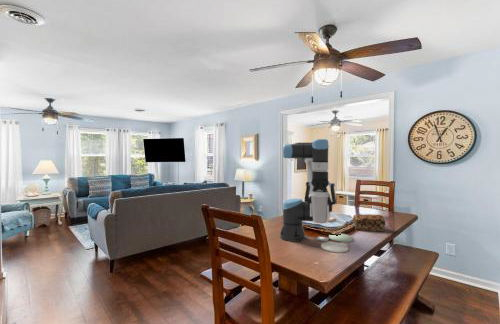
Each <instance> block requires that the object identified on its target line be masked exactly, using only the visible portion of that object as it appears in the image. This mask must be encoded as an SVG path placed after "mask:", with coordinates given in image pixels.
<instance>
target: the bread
mask: <svg viewBox="0 0 500 324" xmlns="http://www.w3.org/2000/svg"><path fill="white" fill-rule="evenodd" d="M352 219H353V221H352V223H353V222H354V224H355V228H354V229H355V230H356V231H365V232H367V231H369V232H370V231H371V232H384V231H386V230H385V229H386V220H385V218H384V216H383V215H382V214H375V213H374V214H371V213H370V214H354V215H353V217H352Z"/></svg>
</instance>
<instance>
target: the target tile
mask: <svg viewBox="0 0 500 324" xmlns="http://www.w3.org/2000/svg"><path fill="white" fill-rule="evenodd" d="M314 240H315V242H316V241H318V242H322V243H325V242H330V240H331V239H330V238H329V237H325V236H320V235H318V236H317V237H315V239H314Z"/></svg>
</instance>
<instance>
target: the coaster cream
mask: <svg viewBox="0 0 500 324" xmlns="http://www.w3.org/2000/svg"><path fill="white" fill-rule="evenodd" d="M320 245H321V247H320V248H321V249H323V250H324V251H326V252H330V253H339V254H341V253H342V254H343V253H346V252H349V246H348V245H347V244H345V243H343V242H337V241H328V242H322V243H321V244H320Z"/></svg>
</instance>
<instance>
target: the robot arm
mask: <svg viewBox="0 0 500 324" xmlns="http://www.w3.org/2000/svg"><path fill="white" fill-rule="evenodd" d="M329 147H330V145H329V139H325V138H324V139H322V138H321V139H313V140H312V142H295V143H294V142H293V143H287V144H283V146H282V153H283V154H282V156H283V158H284V159H295V160H304V163H305V164H306V169H307V170H306V172H307V173H306V175H307V176H306V177H307V181H305V182H306V183H305V186H306V189H305V194H304V195H305V196H304V201H303V199H302V198H290V199H287V200H284V201H283V204H282V225H281V229H280V232H279V237H280V239H282V240H284V241H289V242H301V241H304V240H306V234H305V228H304V227H303V222H313V214H312V202H311V196H310V194H311V192H312V191H314V192H315V191H317V190H323V192H329V191H328V188H327V187H328V186H329V189H330V197H328V205H327V220H329V219H331V213H332V211H333V205H335V204H337V198H336V191H335V186H336V184H335V183H332V182H330V181H329V171H328V170H329Z"/></svg>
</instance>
